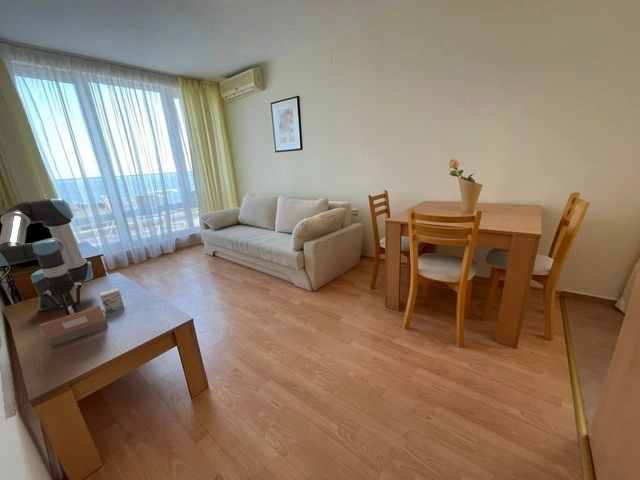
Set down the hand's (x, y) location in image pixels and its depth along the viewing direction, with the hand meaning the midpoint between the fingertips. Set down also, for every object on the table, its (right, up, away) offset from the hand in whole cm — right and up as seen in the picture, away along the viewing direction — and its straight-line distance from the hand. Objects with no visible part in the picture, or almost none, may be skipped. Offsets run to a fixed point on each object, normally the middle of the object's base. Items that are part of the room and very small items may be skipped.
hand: (75, 319), depth 120 cm
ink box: (-3, -3, +28) cm, 28 cm away
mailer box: (-6, -9, +10) cm, 14 cm away
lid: (+1, -1, -1) cm, 1 cm away
